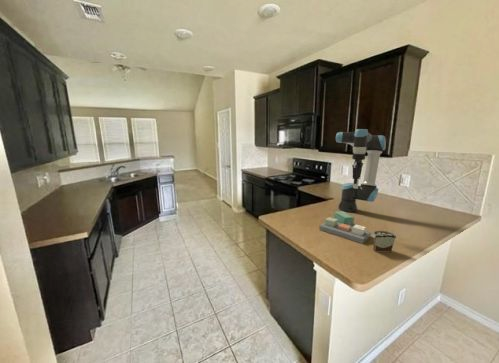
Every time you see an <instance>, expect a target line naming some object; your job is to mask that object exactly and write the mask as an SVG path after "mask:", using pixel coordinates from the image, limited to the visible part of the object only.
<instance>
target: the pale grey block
mask: <svg viewBox="0 0 499 363" xmlns="http://www.w3.org/2000/svg"><path fill="white" fill-rule="evenodd" d="M366 229H367V227H366V226H364V225H359V224H354V225H353V228H352V233H354V234H357V235H359V236H363V235H364V234H365V231H367V230H366Z"/></svg>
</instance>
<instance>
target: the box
mask: <svg viewBox="0 0 499 363" xmlns="http://www.w3.org/2000/svg"><path fill="white" fill-rule="evenodd" d="M333 218H335V219H338V223H341V224H342V223H343V224H346V225H350V226H351V227H353V226H354V221H355V218H354V217H353V216H352V215H350V214H349V213H348V212H345V211H342V210H339V211H338V210H337V211H334V215H333Z"/></svg>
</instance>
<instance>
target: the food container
mask: <svg viewBox="0 0 499 363" xmlns="http://www.w3.org/2000/svg"><path fill="white" fill-rule="evenodd" d="M372 238H373V251H374V252H377V253H378V252H381V253H383V252H387V253H389V252H392V250H393V247H394V244H395V239H397V235H396V234H395V233H393V232H390V231H386V230H375V231H374V232H373V234H372Z"/></svg>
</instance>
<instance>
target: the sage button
mask: <svg viewBox="0 0 499 363" xmlns="http://www.w3.org/2000/svg"><path fill="white" fill-rule="evenodd" d="M324 223H325V225H327V226H331V227H335V226H336V225H337V223H338V219H335V218H334V217H330V216H329V217H327V218H325V220H324Z"/></svg>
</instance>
